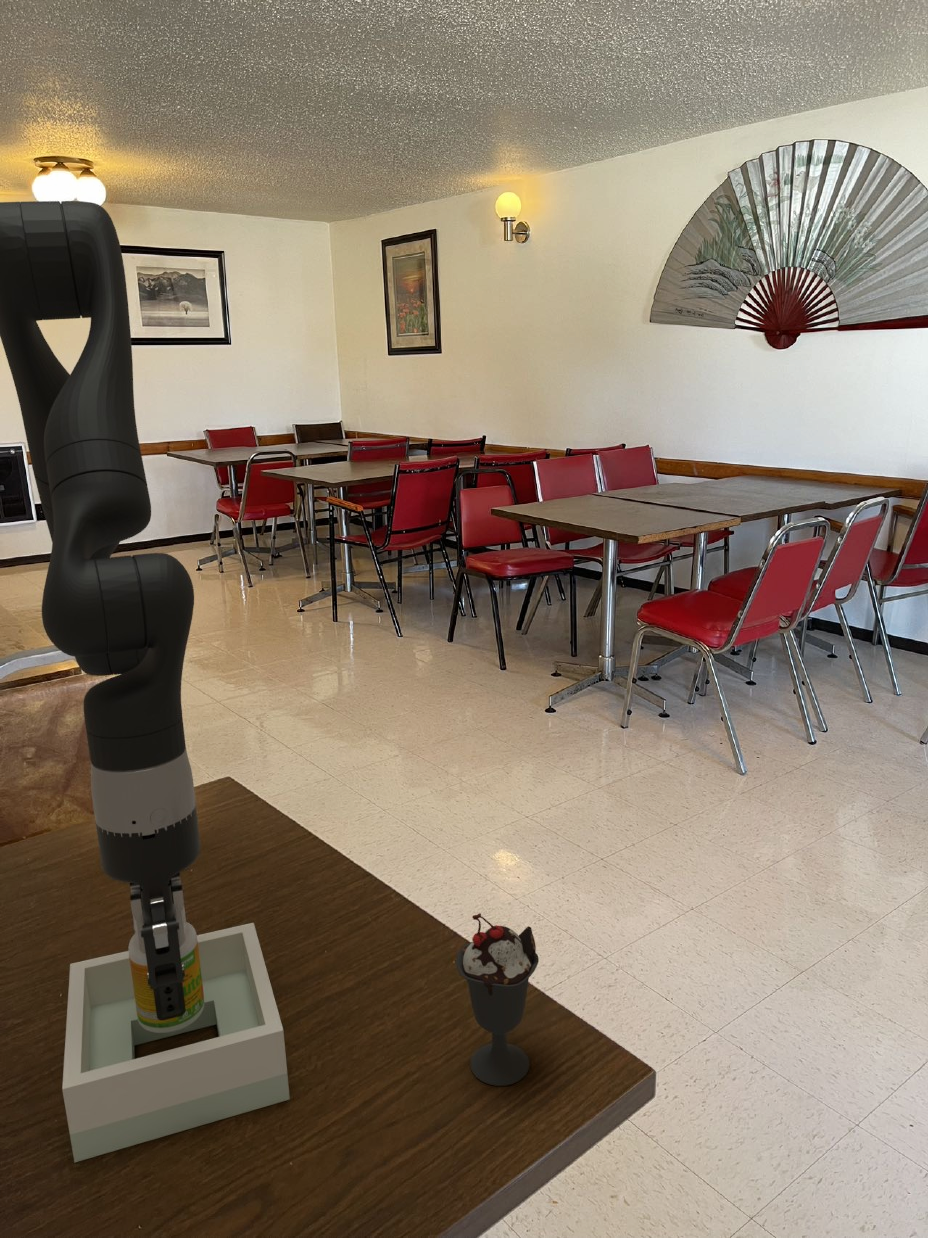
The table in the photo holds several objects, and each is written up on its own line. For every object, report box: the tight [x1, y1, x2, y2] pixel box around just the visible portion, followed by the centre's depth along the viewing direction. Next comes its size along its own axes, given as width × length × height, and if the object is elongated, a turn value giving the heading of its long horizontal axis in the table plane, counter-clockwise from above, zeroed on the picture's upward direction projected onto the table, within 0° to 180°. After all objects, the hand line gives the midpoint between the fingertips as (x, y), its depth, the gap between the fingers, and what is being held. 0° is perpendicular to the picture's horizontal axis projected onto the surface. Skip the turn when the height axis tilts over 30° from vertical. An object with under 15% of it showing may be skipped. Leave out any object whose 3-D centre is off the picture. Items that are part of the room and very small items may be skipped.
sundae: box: [456, 913, 540, 1087], centre depth 74 cm, size 7×7×15 cm
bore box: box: [61, 922, 291, 1163], centre depth 77 cm, size 16×16×6 cm
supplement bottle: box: [127, 904, 204, 1033], centre depth 75 cm, size 5×5×10 cm
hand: (169, 992), depth 76 cm, fingers closed on supplement bottle, 5 cm apart
